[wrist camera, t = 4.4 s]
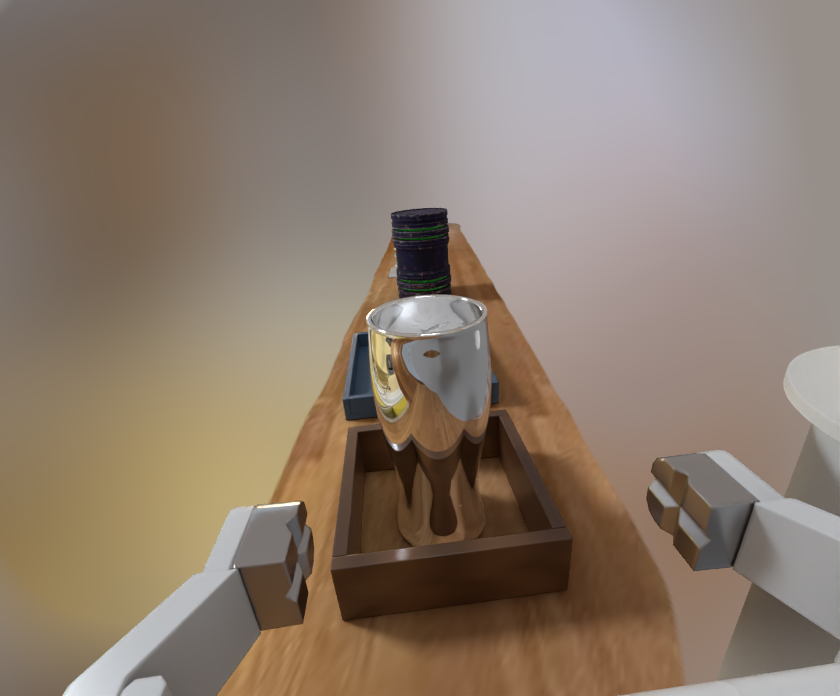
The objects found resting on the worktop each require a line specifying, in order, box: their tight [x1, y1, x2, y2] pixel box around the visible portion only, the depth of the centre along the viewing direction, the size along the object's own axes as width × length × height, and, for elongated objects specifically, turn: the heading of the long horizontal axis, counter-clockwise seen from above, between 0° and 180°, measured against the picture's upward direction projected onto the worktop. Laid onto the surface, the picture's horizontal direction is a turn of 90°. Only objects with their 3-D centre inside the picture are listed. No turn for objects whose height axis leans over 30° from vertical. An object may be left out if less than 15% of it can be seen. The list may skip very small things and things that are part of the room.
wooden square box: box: [331, 410, 573, 620], centre depth 28 cm, size 13×13×4 cm
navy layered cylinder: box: [391, 208, 451, 299], centre depth 73 cm, size 10×10×15 cm
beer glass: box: [367, 294, 492, 547], centre depth 25 cm, size 7×7×15 cm
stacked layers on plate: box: [388, 248, 397, 278], centre depth 94 cm, size 10×9×6 cm
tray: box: [343, 332, 499, 420], centre depth 48 cm, size 15×17×2 cm
